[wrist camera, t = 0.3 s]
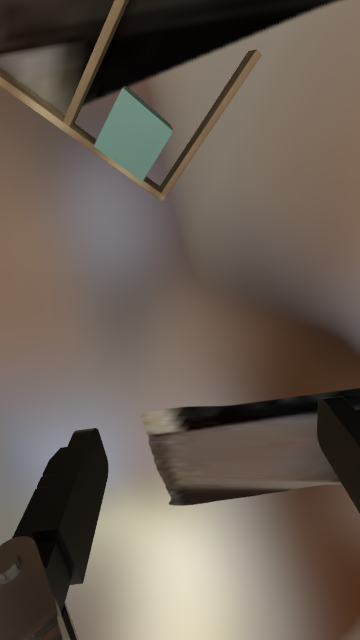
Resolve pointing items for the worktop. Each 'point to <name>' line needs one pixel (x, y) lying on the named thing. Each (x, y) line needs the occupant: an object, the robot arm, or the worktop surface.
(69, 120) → the bay rack
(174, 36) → the worktop surface
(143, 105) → the plain green block
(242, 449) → the worktop surface
